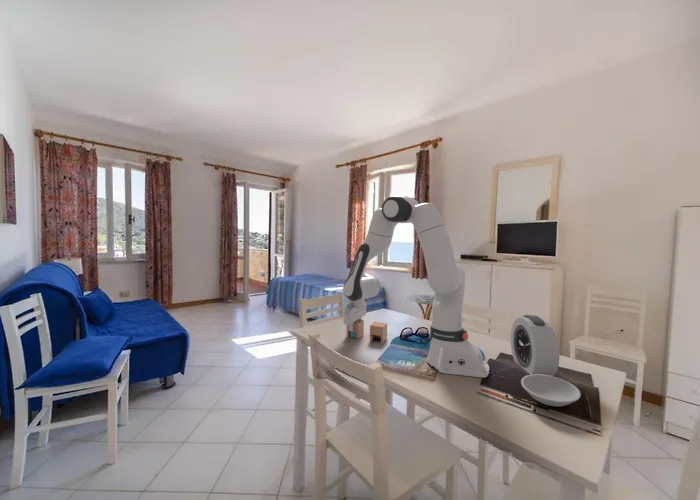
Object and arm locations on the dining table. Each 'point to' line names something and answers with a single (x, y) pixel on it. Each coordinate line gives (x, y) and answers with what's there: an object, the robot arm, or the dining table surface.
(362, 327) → the tan box with door
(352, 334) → the letter cube
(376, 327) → the brown box with opening
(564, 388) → the dish
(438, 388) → the dining table surface
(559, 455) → the dining table surface
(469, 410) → the dining table surface
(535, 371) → the alarm clock
